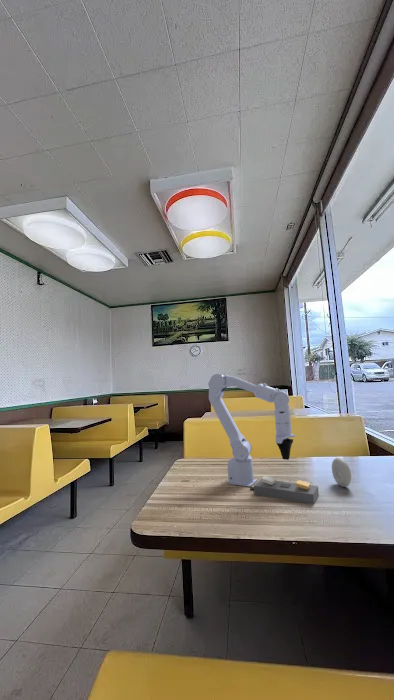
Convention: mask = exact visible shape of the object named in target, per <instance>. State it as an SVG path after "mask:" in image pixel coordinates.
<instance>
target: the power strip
mask: <svg viewBox="0 0 394 700" xmlns="http://www.w3.org/2000/svg"><path fill="white" fill-rule="evenodd" d="M249 489H250V490H251V491H253V493H254V494H253V495H255V496H261V497H266V498H267V497H268V498H273V499H278V500H279V499H280V500H285V501H292V502H298V503H304V504H310V505H315V504H316V502H317V499H319V496H320V494H319V493H320V492H319V486H318V485H313V484H310V487H309V489H308V490H307V489H304V488H300V487H297V486H296V482H290V481H289V482H288V481H283V480H282V481H281V480H276V481H275V483H274V484H273V485H271V484H268V483H265V482H262V481H261V479H259V480H258V481H256V482H255V483H254V484H253V486H250V487H249Z"/></svg>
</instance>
